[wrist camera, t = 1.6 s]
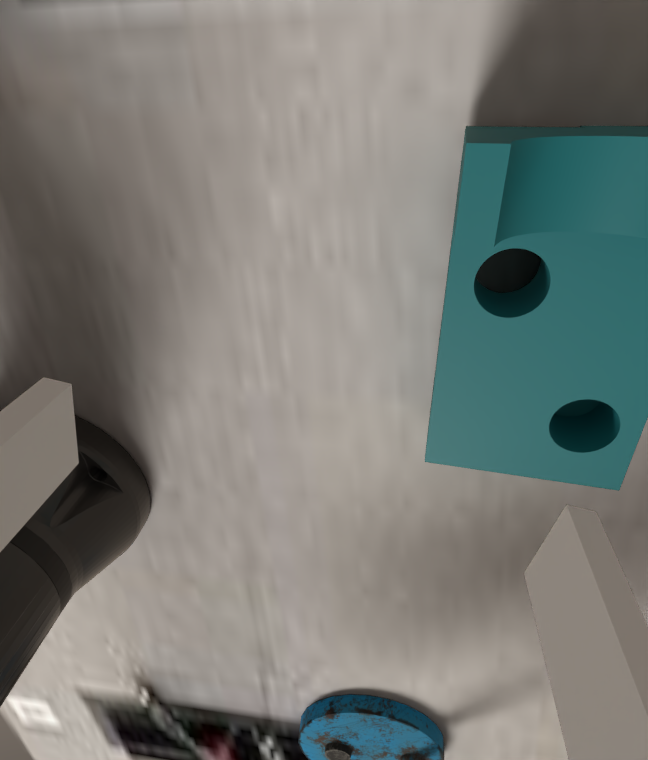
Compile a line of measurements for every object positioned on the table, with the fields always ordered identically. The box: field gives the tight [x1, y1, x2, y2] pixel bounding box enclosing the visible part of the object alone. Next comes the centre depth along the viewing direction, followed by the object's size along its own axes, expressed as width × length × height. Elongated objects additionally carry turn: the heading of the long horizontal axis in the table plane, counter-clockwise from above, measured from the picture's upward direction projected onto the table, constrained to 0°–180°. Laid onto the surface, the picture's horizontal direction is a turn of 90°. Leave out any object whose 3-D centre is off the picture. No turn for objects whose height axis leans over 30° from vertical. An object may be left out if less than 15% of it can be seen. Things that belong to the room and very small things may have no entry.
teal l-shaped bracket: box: [425, 126, 648, 490], centre depth 25 cm, size 18×11×10 cm, turn 1°
